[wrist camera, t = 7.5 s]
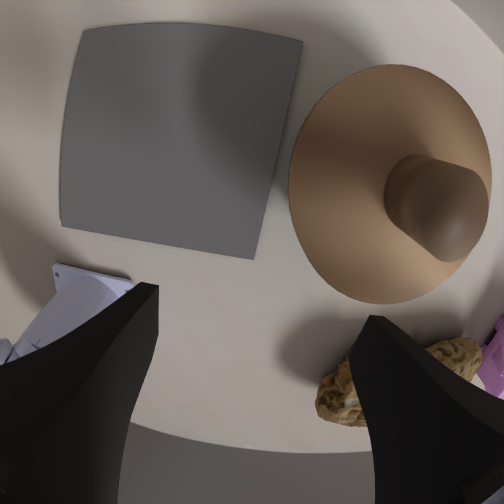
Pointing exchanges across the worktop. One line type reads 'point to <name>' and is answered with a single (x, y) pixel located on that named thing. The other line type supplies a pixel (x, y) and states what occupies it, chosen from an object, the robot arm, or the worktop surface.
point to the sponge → (344, 394)
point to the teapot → (493, 363)
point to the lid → (389, 184)
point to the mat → (175, 133)
